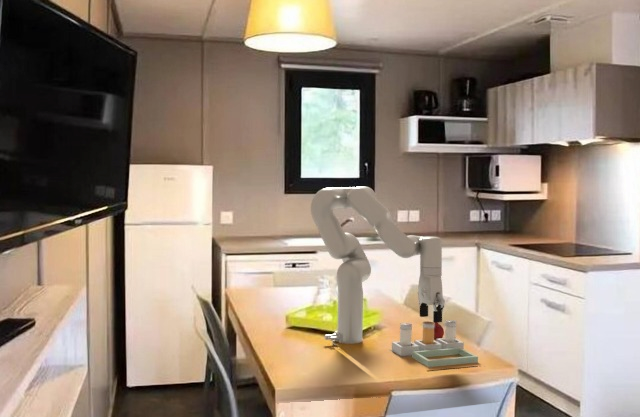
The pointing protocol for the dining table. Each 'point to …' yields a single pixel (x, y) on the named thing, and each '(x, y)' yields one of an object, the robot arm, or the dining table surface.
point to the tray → (465, 359)
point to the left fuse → (405, 334)
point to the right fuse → (450, 331)
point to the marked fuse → (428, 333)
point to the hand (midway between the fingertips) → (430, 319)
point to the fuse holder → (424, 346)
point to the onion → (438, 331)
